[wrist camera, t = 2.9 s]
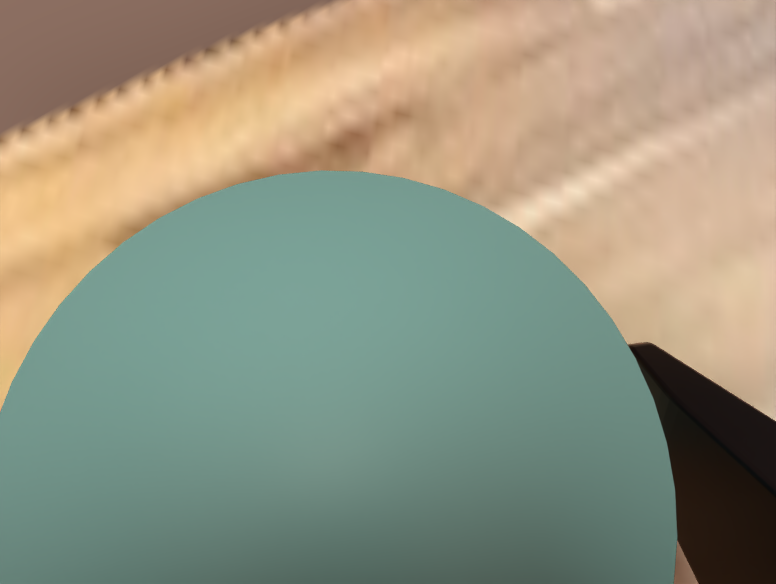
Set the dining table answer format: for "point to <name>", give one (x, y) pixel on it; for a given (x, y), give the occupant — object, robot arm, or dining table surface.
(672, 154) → the dining table surface
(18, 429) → the teal tall cylinder
